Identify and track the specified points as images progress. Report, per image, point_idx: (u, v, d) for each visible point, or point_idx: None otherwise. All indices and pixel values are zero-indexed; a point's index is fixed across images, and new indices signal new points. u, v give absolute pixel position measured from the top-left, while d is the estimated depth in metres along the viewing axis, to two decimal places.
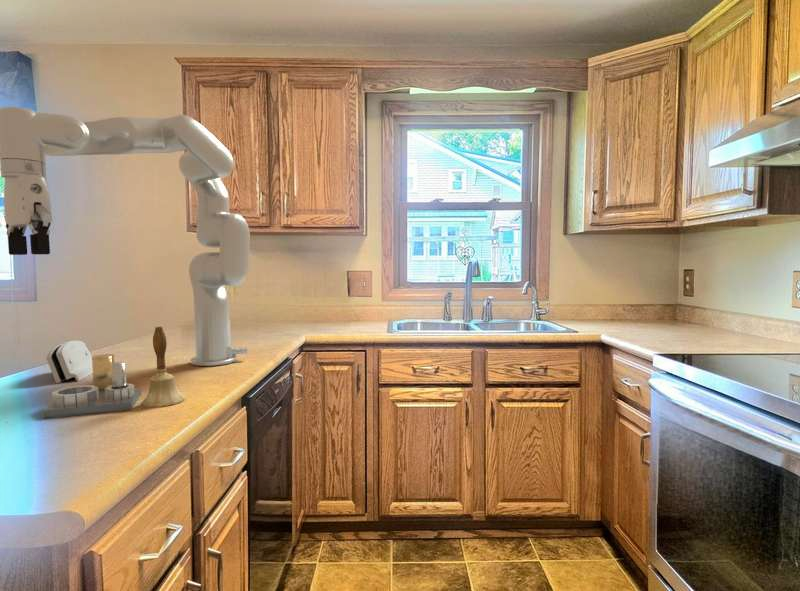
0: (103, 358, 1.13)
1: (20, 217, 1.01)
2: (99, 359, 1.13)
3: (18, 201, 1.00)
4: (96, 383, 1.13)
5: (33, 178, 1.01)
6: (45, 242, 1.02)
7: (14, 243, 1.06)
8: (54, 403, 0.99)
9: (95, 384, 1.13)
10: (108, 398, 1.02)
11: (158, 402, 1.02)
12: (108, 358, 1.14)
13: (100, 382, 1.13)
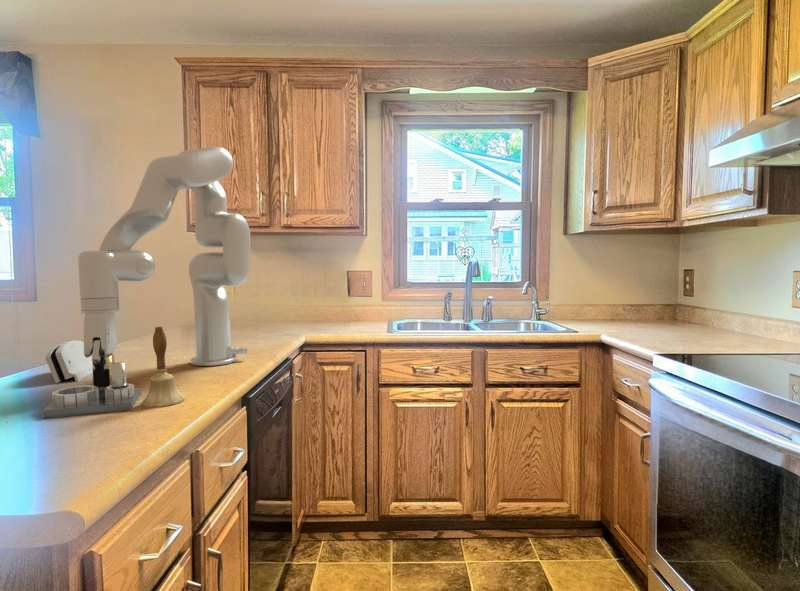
0: (103, 358, 1.13)
1: (115, 344, 1.18)
2: None
3: (115, 331, 1.17)
4: None
5: None
6: None
7: None
8: (54, 403, 0.99)
9: None
10: (108, 398, 1.02)
11: (158, 402, 1.02)
12: (108, 358, 1.14)
13: None
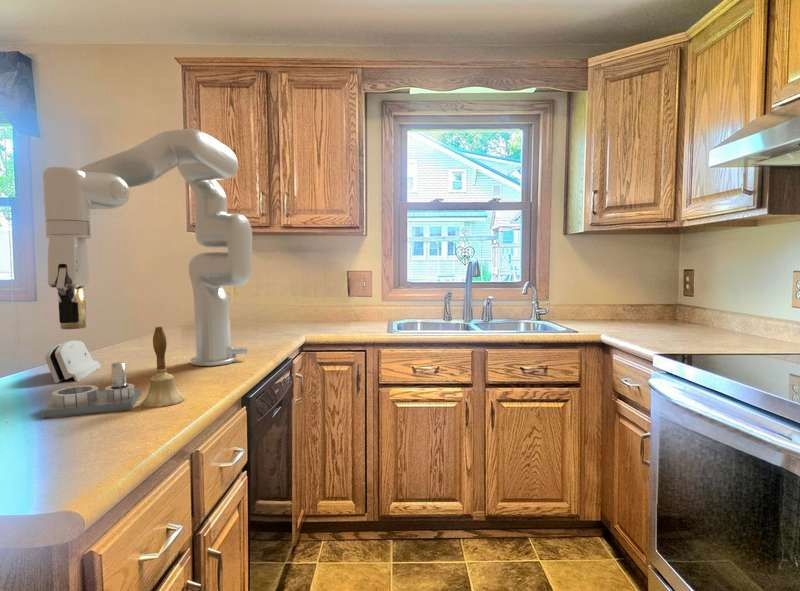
0: None
1: (86, 278, 1.04)
2: None
3: (87, 263, 1.04)
4: None
5: None
6: None
7: None
8: (54, 403, 0.99)
9: None
10: (108, 398, 1.02)
11: (158, 402, 1.02)
12: (77, 290, 1.00)
13: None
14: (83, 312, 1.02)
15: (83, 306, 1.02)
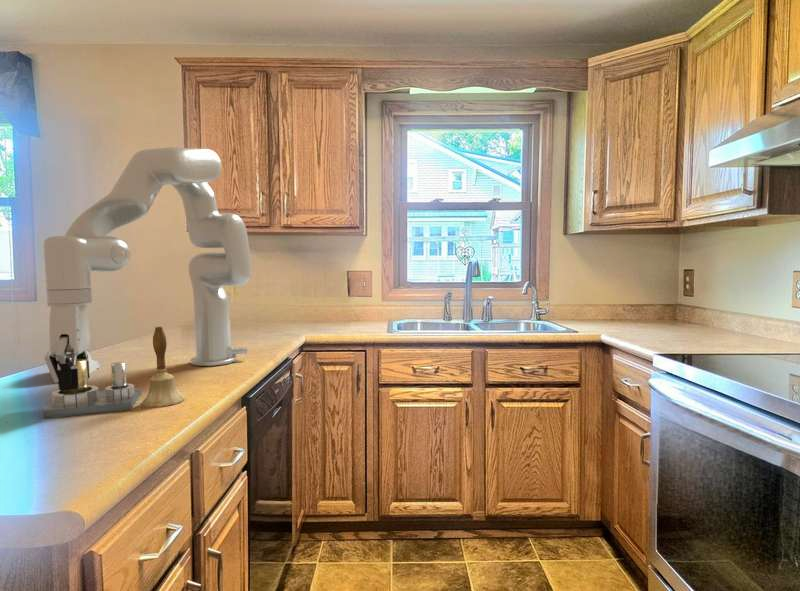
0: None
1: (88, 342, 1.04)
2: None
3: (88, 327, 1.04)
4: (65, 392, 1.00)
5: None
6: None
7: None
8: (54, 403, 0.99)
9: (64, 393, 1.00)
10: (108, 398, 1.02)
11: (158, 402, 1.02)
12: (79, 364, 1.00)
13: (70, 390, 1.00)
14: (86, 384, 1.02)
15: (86, 378, 1.02)
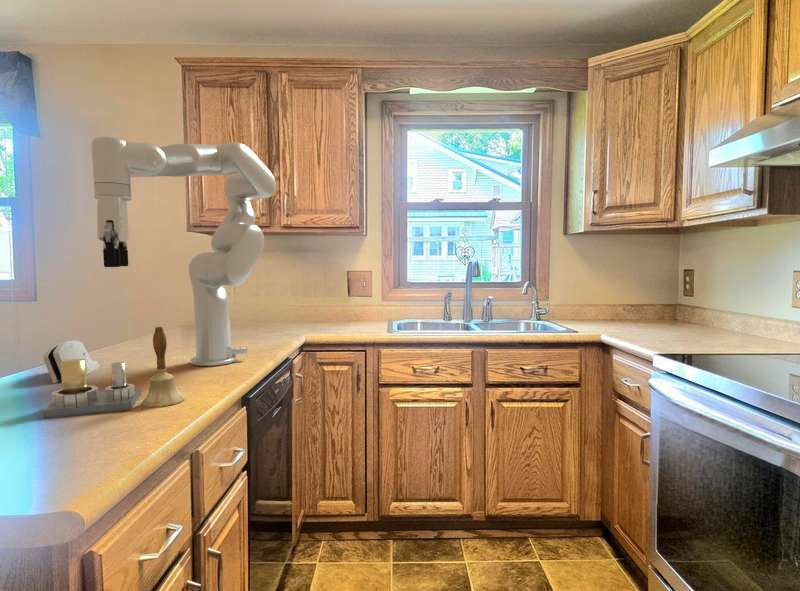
0: (73, 363, 1.00)
1: (127, 235, 1.20)
2: (69, 364, 1.00)
3: (127, 222, 1.20)
4: (65, 391, 1.00)
5: None
6: None
7: None
8: (54, 403, 0.99)
9: (65, 393, 1.00)
10: (108, 398, 1.02)
11: (158, 402, 1.02)
12: (79, 363, 1.01)
13: (71, 390, 1.00)
14: (86, 383, 1.02)
15: (86, 377, 1.02)
